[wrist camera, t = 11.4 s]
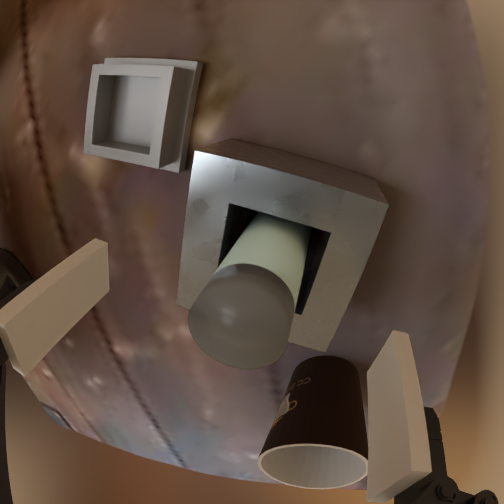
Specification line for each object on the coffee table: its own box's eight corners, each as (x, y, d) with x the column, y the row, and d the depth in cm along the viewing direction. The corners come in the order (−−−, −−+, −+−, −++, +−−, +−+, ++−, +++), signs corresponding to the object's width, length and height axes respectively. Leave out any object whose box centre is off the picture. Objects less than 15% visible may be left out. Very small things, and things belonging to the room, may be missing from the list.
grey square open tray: (101, 152, 23) (77, 159, 21) (112, 58, 20) (88, 56, 17) (184, 170, 23) (165, 179, 20) (203, 63, 19) (184, 58, 16)
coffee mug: (337, 331, 25) (329, 431, 17) (386, 384, 27) (389, 474, 18) (241, 379, 31) (210, 460, 22) (294, 421, 32) (277, 497, 23)
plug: (262, 190, 22) (192, 275, 11) (318, 206, 21) (300, 309, 11) (251, 240, 24) (184, 350, 13) (303, 256, 23) (273, 379, 13)
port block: (208, 263, 25) (176, 304, 20) (230, 138, 21) (194, 150, 15) (329, 300, 24) (325, 352, 19) (374, 178, 20) (388, 204, 14)
